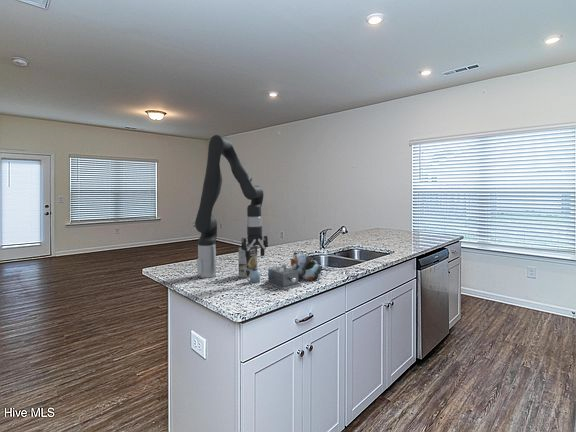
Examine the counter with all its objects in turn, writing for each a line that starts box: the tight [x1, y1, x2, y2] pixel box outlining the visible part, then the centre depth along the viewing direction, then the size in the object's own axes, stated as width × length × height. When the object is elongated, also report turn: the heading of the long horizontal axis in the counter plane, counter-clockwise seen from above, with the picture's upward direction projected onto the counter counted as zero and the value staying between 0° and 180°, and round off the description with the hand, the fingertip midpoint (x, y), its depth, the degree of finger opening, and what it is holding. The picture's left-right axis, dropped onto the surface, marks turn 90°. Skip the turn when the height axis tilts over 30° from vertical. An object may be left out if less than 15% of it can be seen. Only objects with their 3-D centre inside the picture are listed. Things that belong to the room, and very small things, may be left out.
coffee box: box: [238, 245, 258, 279], centre depth 176 cm, size 9×6×16 cm
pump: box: [249, 267, 261, 284], centre depth 165 cm, size 5×5×7 cm
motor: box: [265, 263, 302, 291], centre depth 160 cm, size 11×17×9 cm, turn 37°
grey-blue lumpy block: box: [290, 251, 323, 282], centre depth 173 cm, size 17×14×16 cm
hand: (255, 257), depth 165 cm, fingers open, 8 cm apart
